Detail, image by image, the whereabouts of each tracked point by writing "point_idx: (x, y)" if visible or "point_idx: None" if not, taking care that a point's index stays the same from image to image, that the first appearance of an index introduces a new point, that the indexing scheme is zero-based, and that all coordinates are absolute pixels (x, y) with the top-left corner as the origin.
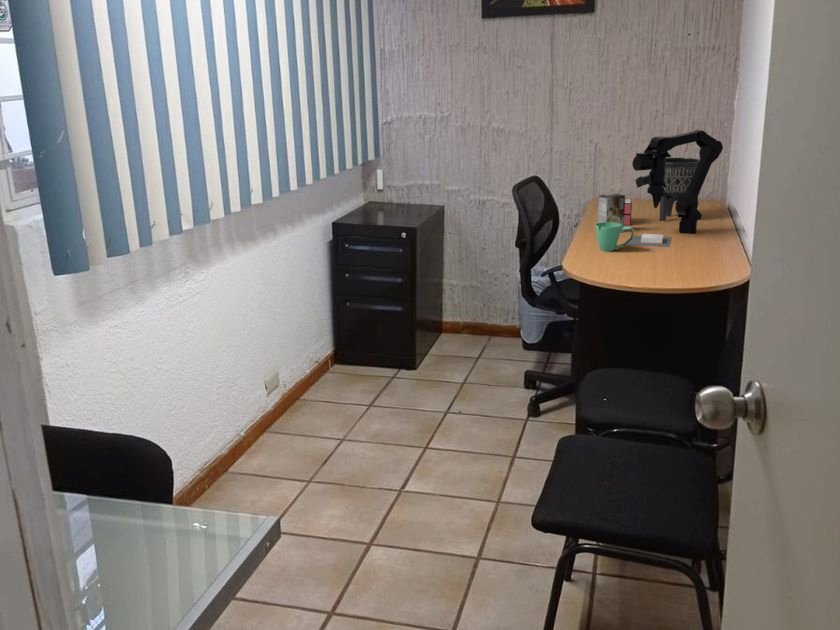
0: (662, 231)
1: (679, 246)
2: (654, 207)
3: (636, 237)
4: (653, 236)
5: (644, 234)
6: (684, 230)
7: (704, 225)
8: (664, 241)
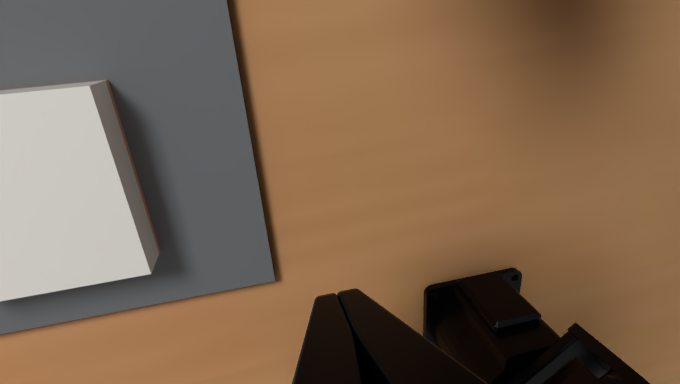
0: (508, 163)
1: (30, 379)
2: (315, 307)
3: (134, 5)
4: (6, 217)
5: (57, 110)
6: (446, 321)
7: (670, 326)
8: None
